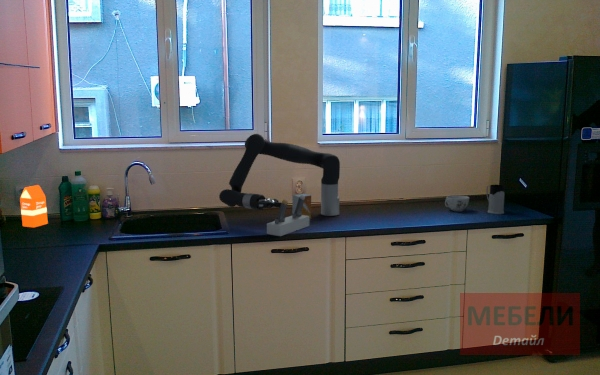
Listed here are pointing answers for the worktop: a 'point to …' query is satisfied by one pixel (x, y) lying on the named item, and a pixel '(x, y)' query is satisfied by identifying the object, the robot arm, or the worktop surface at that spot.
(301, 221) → the switch box
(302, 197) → the grey lever
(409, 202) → the worktop surface
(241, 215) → the worktop surface
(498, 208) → the glass holder
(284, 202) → the tan tipped lever
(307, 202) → the small box
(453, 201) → the teacup
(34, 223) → the orange juice
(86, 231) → the worktop surface
